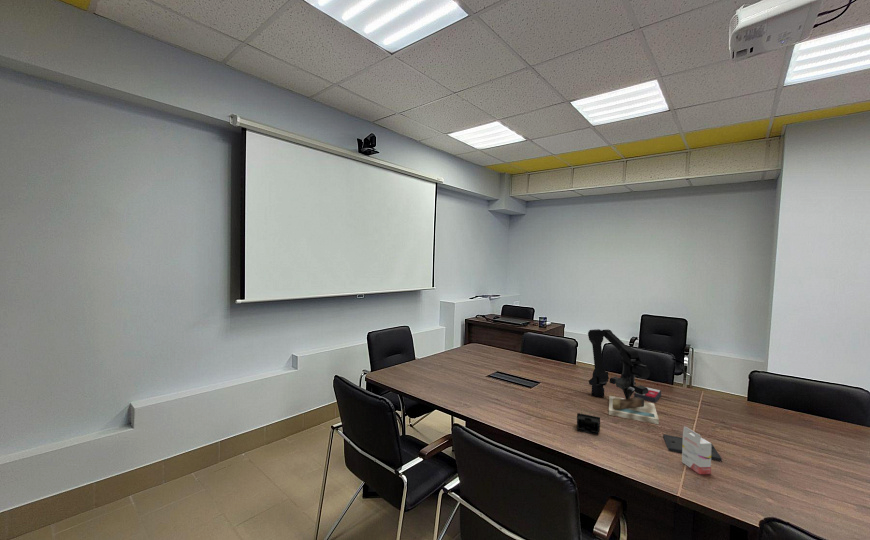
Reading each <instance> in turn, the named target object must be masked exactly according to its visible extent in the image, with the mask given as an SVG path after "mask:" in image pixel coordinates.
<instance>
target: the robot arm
mask: <svg viewBox="0 0 870 540" xmlns="http://www.w3.org/2000/svg"><path fill="white" fill-rule="evenodd" d="M587 336H588V340H589V342H590V343H591V346H592V354H593V364H594V369H593V372H592V378H590V379H589V380H588V383H589V384H588V385H590V386H591V394H590V395H591V396H592V397H598V398H604V396H605V387H604V386H607V384H608V382H609V383H610V384H612V385H615V386H616V388H619V389H621V391H622V392H623V394H624V397H625V399H628V398H632V395H634V393H635V392H636V393H638V394H641V395H643V394H646V393H648V388H649V387H648V388H647V387H646V386H643V385H636V381H635V380H636V379H635V378H637V377H638V378H641V379H644V380H648V378H649V377H650V376H651V371H650V369H649V368H648V365H646V364H645V365H644V364H643V361H642V360H641V358H640V356H639V353H638V351H637V350H636V349H634V348H633V347H631V346H628V345H627V344H625V343H624V342H623V341H622V340H621V339H620V338H619V337H617V336H616V335H615V334H614V333H613V331H612V330H610V329H608V328H607V329H598V328H597V329H596V328H595V329H590V330H588V332H587ZM604 338H605V339H606V341H608V342H609V343H610V344H611V345H612V346H613V347H614V348H615V349H616V350H617V351H618V353H619V355H620V357H621V358H622V359H621V360H619V362H620V363H622V373H621V374H620V377H618V376H613V377H610V378H609V371H606V370H605V367H604V359H603V358H604V357H603V356H604V355H603V349H602V343H603V342H604Z"/></svg>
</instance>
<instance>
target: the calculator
mask: <svg viewBox="0 0 870 540" xmlns="http://www.w3.org/2000/svg"><path fill="white" fill-rule="evenodd" d="M647 388H648V393H646V394H643V395H641V394H638V393H636V392H635V391H634V392H633V398H635V397H640V398H642V399H644V401H645V402H649V403H654V404H655V403H657V402H658V400H659V399H660V398H661V397H662V390H661V389H656V388H651V387H647Z"/></svg>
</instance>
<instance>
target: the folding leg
mask: <svg viewBox="0 0 870 540" xmlns="http://www.w3.org/2000/svg"><path fill="white" fill-rule="evenodd" d="M644 402H645V400H644V399H642V398H640V397H635V398H634V397H630V398H628V399H626V398H625V399H620V400H619V399H616V398H614V399H613V408H614V409H617V410H620V409H626V408H633V407H639V406H644Z"/></svg>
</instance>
